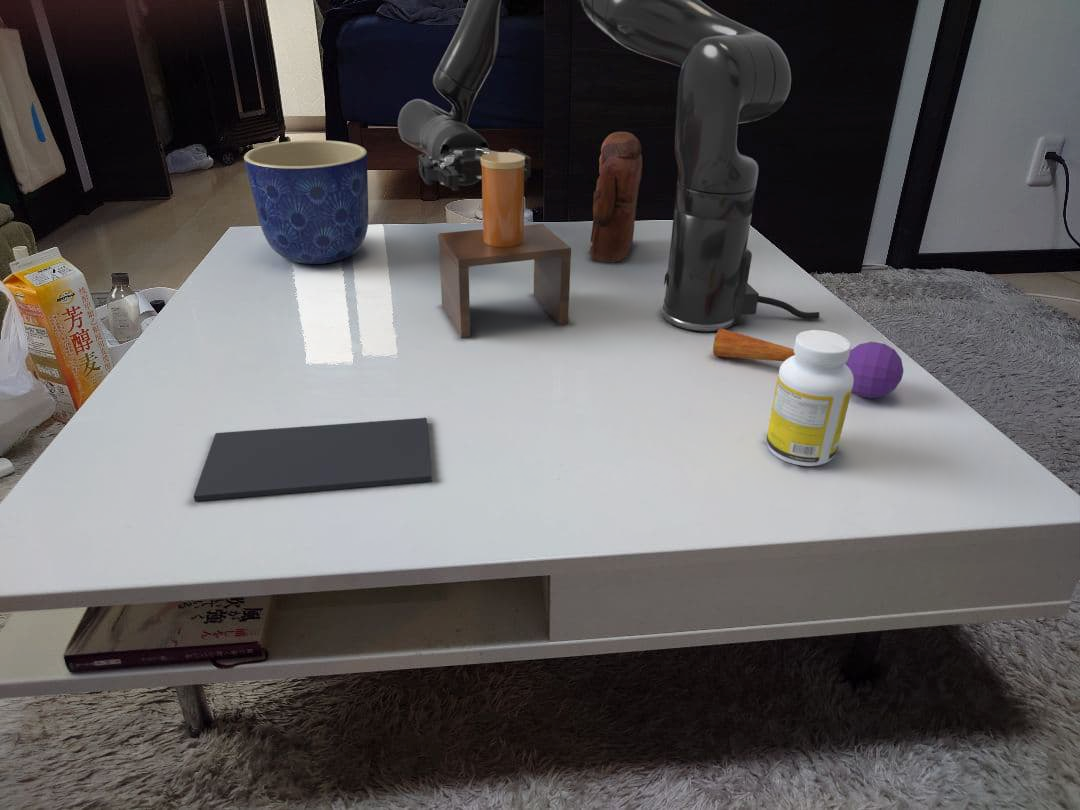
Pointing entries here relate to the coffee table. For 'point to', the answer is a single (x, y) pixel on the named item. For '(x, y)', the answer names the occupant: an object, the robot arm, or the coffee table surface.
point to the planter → (311, 198)
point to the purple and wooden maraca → (868, 363)
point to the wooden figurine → (616, 197)
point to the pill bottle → (811, 399)
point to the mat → (315, 459)
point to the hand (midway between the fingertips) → (489, 179)
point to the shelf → (472, 251)
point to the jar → (503, 198)
